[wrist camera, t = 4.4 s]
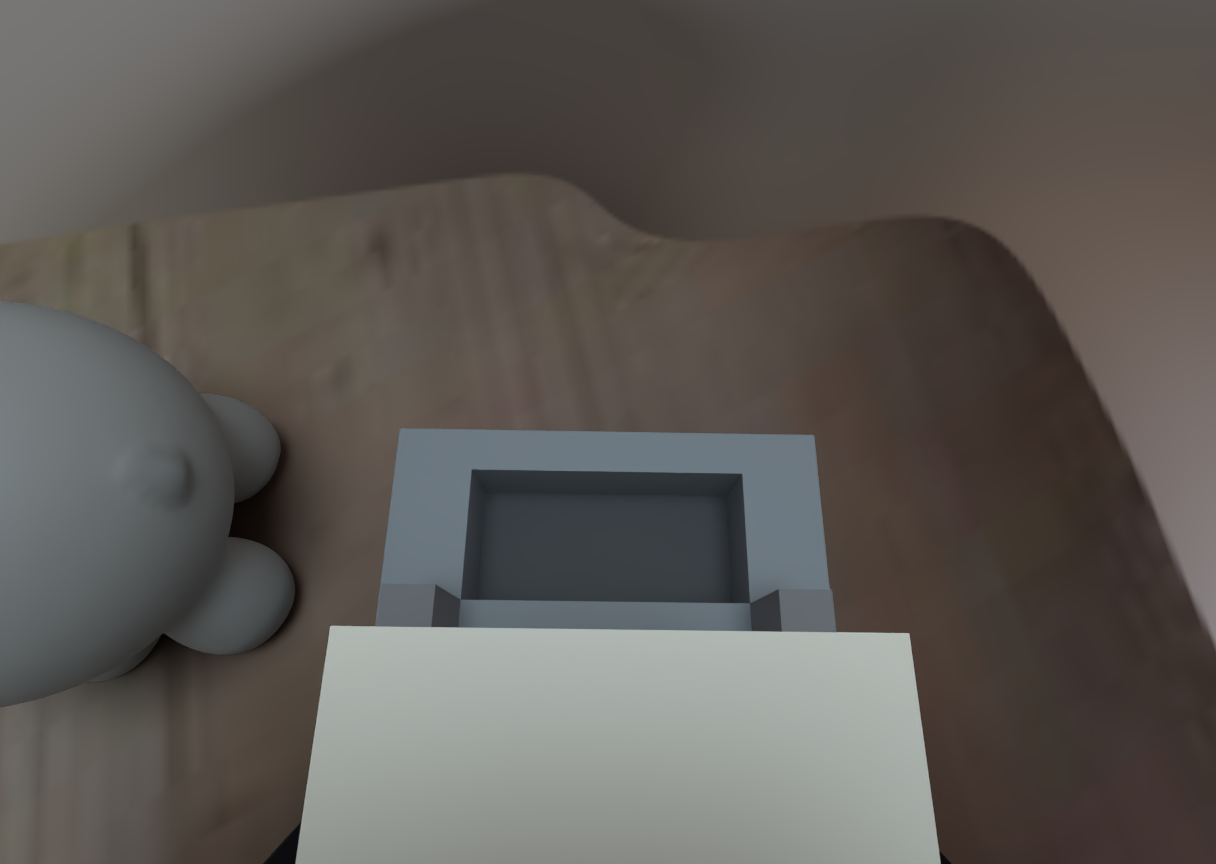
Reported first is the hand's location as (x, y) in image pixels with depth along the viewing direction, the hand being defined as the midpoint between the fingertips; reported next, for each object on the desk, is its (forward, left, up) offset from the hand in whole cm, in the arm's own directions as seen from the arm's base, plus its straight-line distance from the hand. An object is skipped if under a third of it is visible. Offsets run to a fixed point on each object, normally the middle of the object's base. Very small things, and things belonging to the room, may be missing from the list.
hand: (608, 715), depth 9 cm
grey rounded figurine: (-1, +14, -8) cm, 16 cm away
